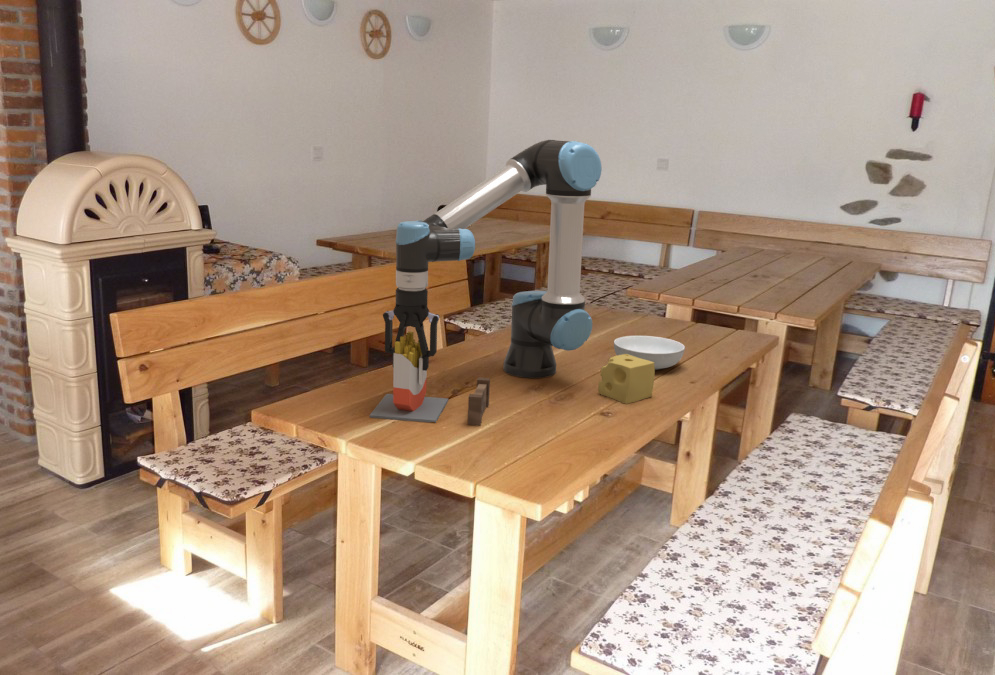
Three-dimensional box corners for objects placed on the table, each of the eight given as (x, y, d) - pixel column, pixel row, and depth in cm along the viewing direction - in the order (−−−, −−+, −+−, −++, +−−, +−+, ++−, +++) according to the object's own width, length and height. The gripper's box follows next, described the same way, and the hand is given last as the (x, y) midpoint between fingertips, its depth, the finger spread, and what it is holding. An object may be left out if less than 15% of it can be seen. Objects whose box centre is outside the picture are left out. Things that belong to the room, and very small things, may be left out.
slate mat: (386, 395, 212) (386, 393, 212) (448, 400, 210) (448, 398, 210) (369, 417, 197) (369, 415, 197) (435, 422, 195) (435, 420, 195)
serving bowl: (689, 362, 253) (691, 340, 251) (673, 380, 234) (675, 357, 233) (623, 352, 261) (625, 331, 259) (602, 369, 243) (604, 346, 241)
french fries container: (427, 401, 208) (428, 331, 203) (410, 415, 198) (411, 342, 193) (410, 398, 209) (411, 329, 204) (392, 412, 199) (393, 340, 194)
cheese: (597, 394, 220) (600, 358, 218) (624, 387, 227) (627, 352, 224) (627, 405, 213) (630, 368, 210) (654, 397, 219) (657, 361, 217)
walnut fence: (477, 403, 209) (478, 377, 207) (488, 404, 209) (490, 378, 207) (467, 424, 195) (468, 396, 193) (480, 425, 194) (481, 397, 193)
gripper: (370, 288, 193) (370, 383, 199) (446, 293, 191) (443, 389, 197) (379, 282, 200) (378, 374, 206) (451, 287, 198) (449, 380, 204)
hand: (410, 381), depth 202 cm, fingers open, 5 cm apart
